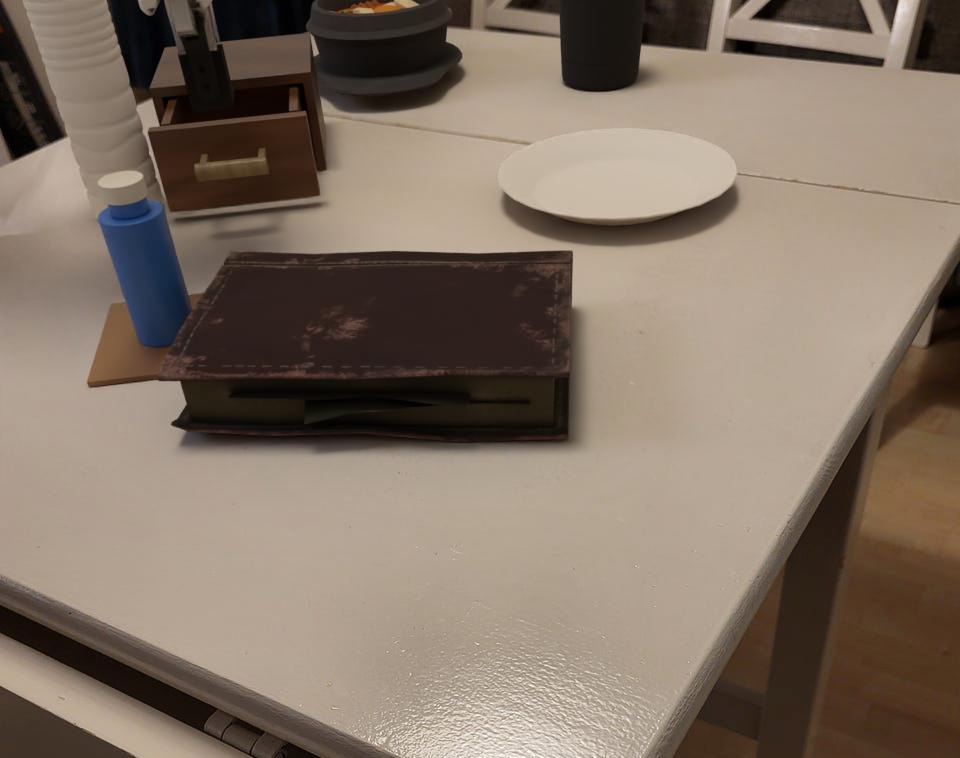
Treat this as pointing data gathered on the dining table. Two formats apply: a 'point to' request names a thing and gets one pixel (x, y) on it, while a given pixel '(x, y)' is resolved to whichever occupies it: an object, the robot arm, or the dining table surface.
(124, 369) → the mat
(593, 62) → the pen holder
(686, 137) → the plate
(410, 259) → the diary
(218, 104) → the robot arm
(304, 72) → the cabinet
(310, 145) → the drawer
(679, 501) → the dining table surface
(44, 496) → the dining table surface
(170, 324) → the bottle
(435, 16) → the casserole
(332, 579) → the dining table surface
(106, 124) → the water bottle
